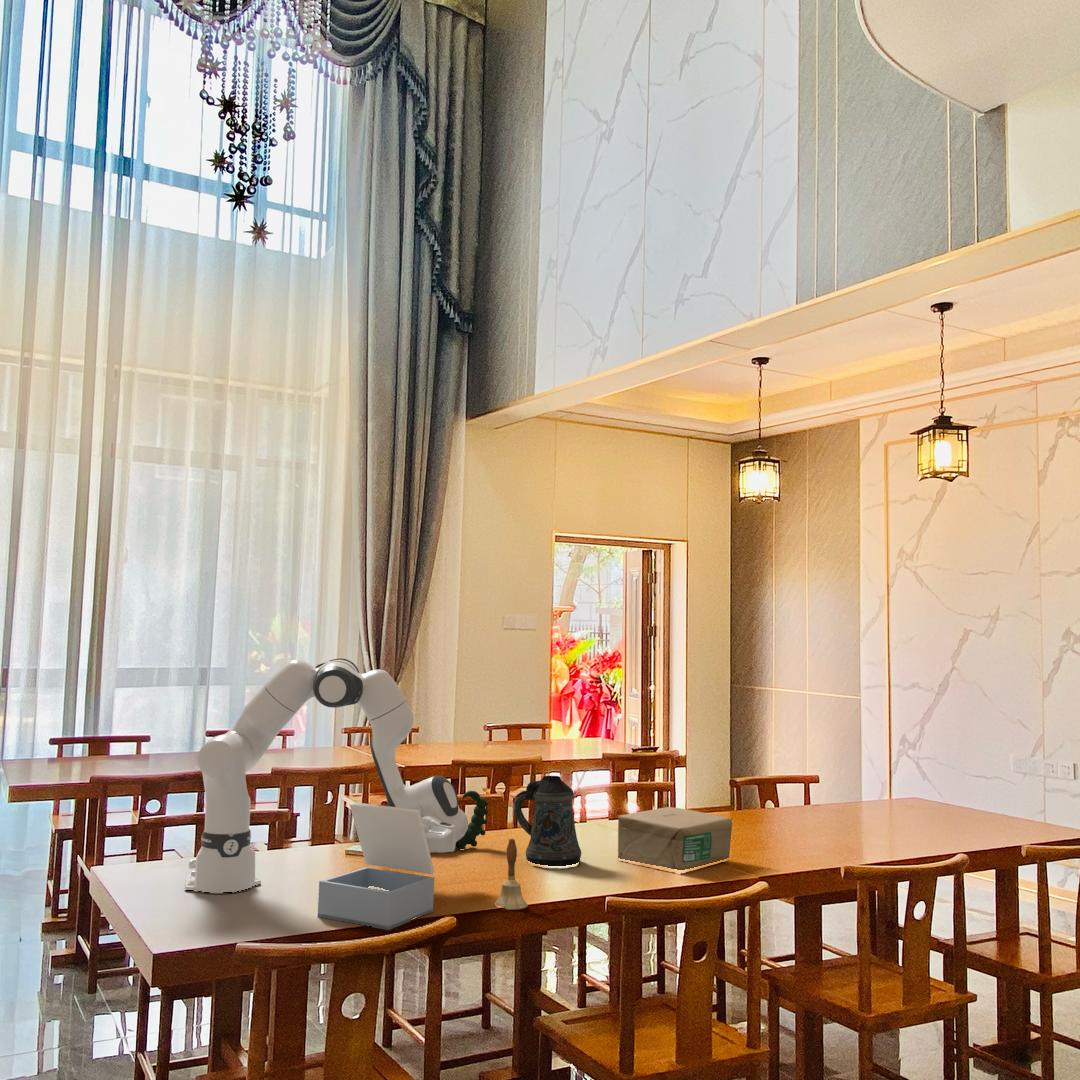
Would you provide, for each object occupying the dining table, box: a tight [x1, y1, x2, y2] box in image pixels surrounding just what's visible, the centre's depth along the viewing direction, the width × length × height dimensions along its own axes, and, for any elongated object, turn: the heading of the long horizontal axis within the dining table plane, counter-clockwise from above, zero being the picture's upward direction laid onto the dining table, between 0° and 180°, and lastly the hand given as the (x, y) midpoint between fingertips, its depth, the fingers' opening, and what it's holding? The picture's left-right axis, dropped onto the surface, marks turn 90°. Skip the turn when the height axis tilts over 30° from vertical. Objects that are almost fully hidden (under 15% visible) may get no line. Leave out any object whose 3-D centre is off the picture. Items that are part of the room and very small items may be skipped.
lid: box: [349, 801, 435, 875], centre depth 242 cm, size 17×20×1 cm
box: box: [317, 866, 435, 931], centre depth 237 cm, size 18×20×8 cm
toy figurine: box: [455, 790, 489, 850], centre depth 312 cm, size 9×19×25 cm
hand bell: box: [494, 838, 529, 911], centre depth 248 cm, size 8×8×16 cm
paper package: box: [617, 806, 733, 870], centre depth 304 cm, size 27×26×14 cm
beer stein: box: [513, 775, 582, 866], centre depth 297 cm, size 16×19×25 cm
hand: (395, 845), depth 244 cm, fingers closed, pressing on lid
